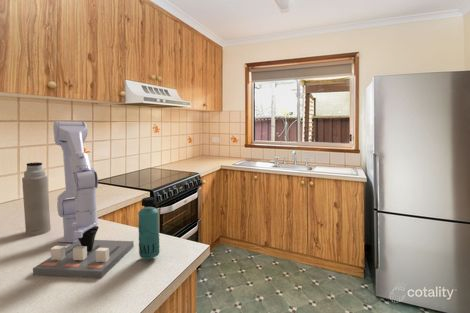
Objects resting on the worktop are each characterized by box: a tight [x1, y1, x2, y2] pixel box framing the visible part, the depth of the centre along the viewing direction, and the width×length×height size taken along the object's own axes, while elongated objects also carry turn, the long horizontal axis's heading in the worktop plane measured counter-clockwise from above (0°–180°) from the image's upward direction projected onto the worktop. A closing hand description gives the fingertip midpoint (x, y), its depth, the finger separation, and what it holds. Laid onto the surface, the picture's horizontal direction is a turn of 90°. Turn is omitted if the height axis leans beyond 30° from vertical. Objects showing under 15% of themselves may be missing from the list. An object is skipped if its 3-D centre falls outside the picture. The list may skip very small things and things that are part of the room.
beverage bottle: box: [137, 196, 160, 260], centre depth 83 cm, size 6×7×20 cm
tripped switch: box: [73, 246, 87, 260], centre depth 79 cm, size 2×3×4 cm, turn 86°
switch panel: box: [32, 239, 135, 279], centre depth 83 cm, size 20×20×6 cm
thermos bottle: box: [21, 161, 52, 236], centre depth 104 cm, size 8×8×28 cm
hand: (88, 251), depth 83 cm, fingers closed
